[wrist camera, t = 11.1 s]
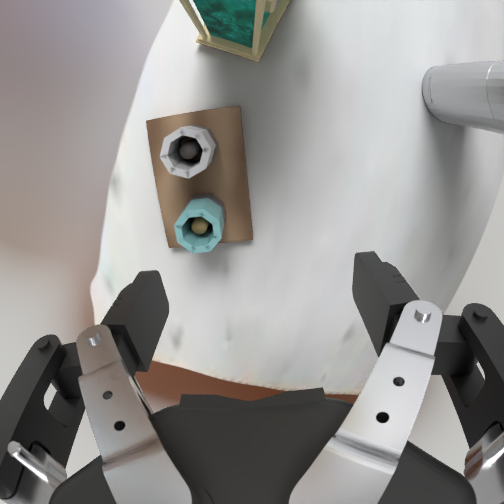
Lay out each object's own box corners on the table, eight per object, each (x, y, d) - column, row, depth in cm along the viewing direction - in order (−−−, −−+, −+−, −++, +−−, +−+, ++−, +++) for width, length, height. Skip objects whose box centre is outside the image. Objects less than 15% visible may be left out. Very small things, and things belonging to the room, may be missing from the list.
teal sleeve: (222, 191, 37) (217, 206, 31) (227, 229, 40) (224, 251, 34) (182, 196, 37) (170, 212, 32) (188, 233, 40) (179, 255, 34)
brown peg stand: (239, 106, 34) (238, 104, 28) (252, 235, 42) (253, 256, 36) (149, 120, 34) (131, 122, 28) (171, 243, 42) (159, 264, 36)
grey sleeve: (203, 117, 33) (194, 118, 27) (224, 154, 35) (219, 162, 29) (167, 139, 34) (151, 145, 28) (187, 174, 36) (176, 186, 30)
